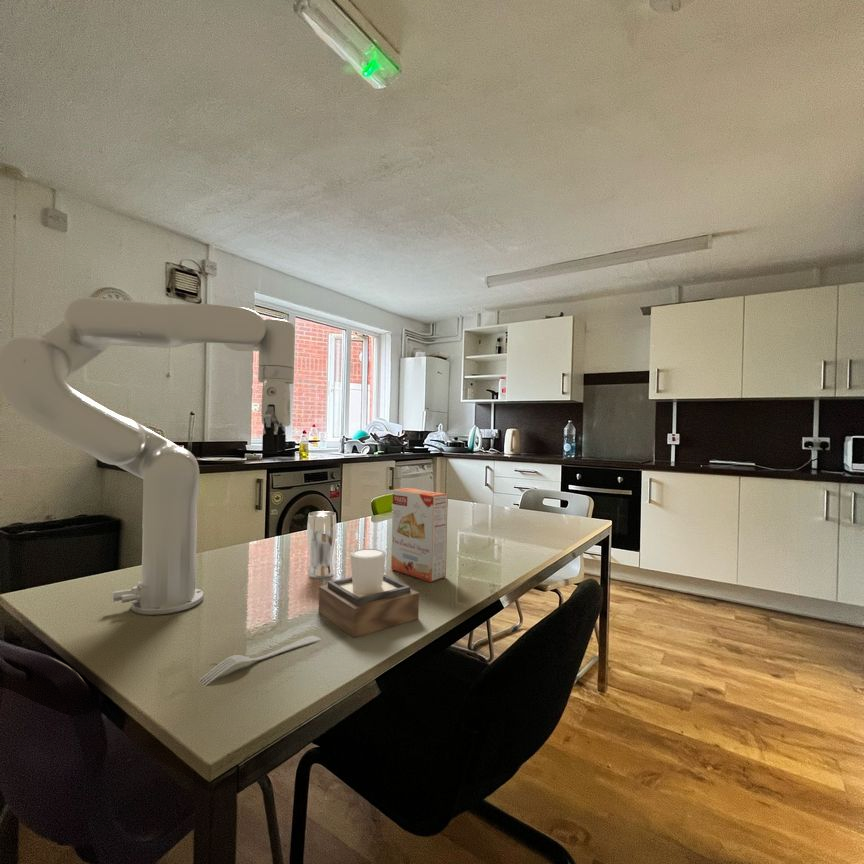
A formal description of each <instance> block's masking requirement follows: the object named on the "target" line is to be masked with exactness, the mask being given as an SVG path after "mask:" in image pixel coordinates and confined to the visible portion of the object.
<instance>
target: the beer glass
mask: <svg viewBox="0 0 864 864" xmlns="http://www.w3.org/2000/svg"><path fill="white" fill-rule="evenodd" d="M336 514H337V513H336V512H334V511H324V510H322V511H321V510H319V511H318V510H317V511H312V512H309V513H308V516H307V526H306V527H307V528H306V534H307V535H306V538H307V546H308V552H309V566H308V567H309V568H308V573H307V576H308V577H309V578H312V579H313V578H314V579H327V578H330V577H332V576H333V575H334V567H333V555H334V551H335V550H334V549H335V546H336V545H335V544H336V539H337V538H336V537H337V515H336Z"/></svg>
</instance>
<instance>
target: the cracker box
mask: <svg viewBox="0 0 864 864" xmlns="http://www.w3.org/2000/svg"><path fill="white" fill-rule="evenodd" d="M448 499H449V494H448V493H443V492H436V491H431V490H424V489H418V488H414V487H413V488H411V487H403V488H402V487H401V488H395V489H392V528H391V557H390V559H391V563H390V564H391V565H390V566H391V567H390V568H391V570H393V571H397V572H399V573H401V574H402V573H403V574H405V575H408V576H412V577H414V578H417V579H420V580H422V581H427V582H428V583H432V582H435V581H438V580H441V579H444V578H446V577H447V546H448V545H447V543H448V542H447V540H448V509H449V508H448V506H449V505H448V503H449V500H448Z"/></svg>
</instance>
